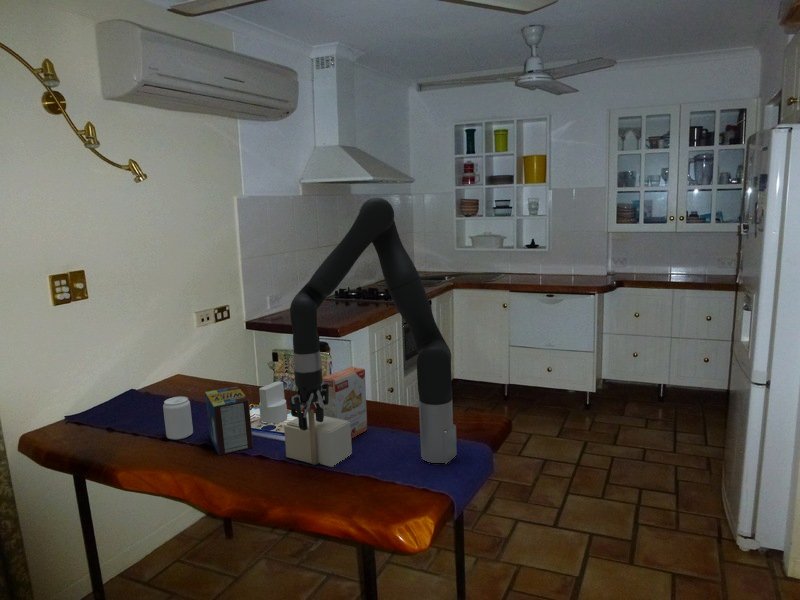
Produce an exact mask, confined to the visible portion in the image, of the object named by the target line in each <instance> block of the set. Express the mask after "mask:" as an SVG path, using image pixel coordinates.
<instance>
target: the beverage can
mask: <svg viewBox="0 0 800 600" xmlns="http://www.w3.org/2000/svg"><path fill="white" fill-rule="evenodd" d="M162 409H163V419H164V426H165V436H166V438H167V439H170V440H183V439H186V438H189V436H191V435H192V434H193V433H194V427H193V419H192V409H191V401H190V400H189V397H187V396H174V397H170V398H167V399H166V400H164V402H163V405H162Z"/></svg>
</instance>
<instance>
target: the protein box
mask: <svg viewBox="0 0 800 600" xmlns="http://www.w3.org/2000/svg"><path fill="white" fill-rule="evenodd" d="M204 395H205V404H206V406H205V407H206V416H207V424H208V431H209V439H210V441H211V443H212V445H213V446H214V449H215V451H216V453H217V455H218V456H222V455H226V454H230V453H235V452H239V450H240V451H243V450H244V449H245V450H248V449H252V448H254V443H253V441H254V440H253V430H252V420H251V419H252V418H251V410H250V401H249V400H250V399H249V397H247V396H246V394H245V393H244V392H243V391H242V390H241V388H240V387H239V386H232V387H227V388H226V387H225V388H220V389H214V390H209V391H204Z"/></svg>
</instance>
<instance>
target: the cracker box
mask: <svg viewBox="0 0 800 600" xmlns="http://www.w3.org/2000/svg"><path fill="white" fill-rule="evenodd" d="M322 378H323V382H322V383H326V384H329V402H328V404H327V405H325V407H324V409H323V411H324V416H327V417H332V418H336V419H341V420H346V421H348V422H350V428H351V440H353V439H355V438H357V437H358V436H357V435H359V434H361V433H363V432H365V431H366V430H367V431H368V419H367V418H368V417H367V416H368V414H367V413H368V412H367V392H366V391H367V390H366V387H367V386H366V369H364V368H363V367H355V366H350V367H347V368H344V369H342V370H338V371H337V372H334V373H330V374H327V375H326V376H322ZM323 400H325V397H324V396H323ZM365 433H366V432H365ZM363 434H364V433H363ZM361 435H362V434H361ZM356 436H357V437H356ZM359 436H360V435H359ZM354 437H355V438H354ZM352 438H353V439H352Z"/></svg>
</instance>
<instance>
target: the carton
mask: <svg viewBox="0 0 800 600" xmlns="http://www.w3.org/2000/svg"><path fill="white" fill-rule="evenodd" d="M306 417H307V428H308V429H307V430H309V418H308V412H307V415H306ZM314 419H315V434H316V448H317V462H318V464H319V463H320V465H324V466H326V467H327V466H328V467H330V468H333V467H335V466H337V465H338V464H339V462H340V461H341V462H343V461H344V460H346V459H347V457H348V456H349V457H351V456H352V455H353V448H352V439H351V428H350V422H348V421H346V420H341V419H336V418H332V417H327V416H324V419H323V422H317V421H316V413H314ZM286 425H288V426H292V427H296V428H299V421H298V417H295V418H293V419H292V420H290V421H288V422H286ZM351 454H352V455H351ZM350 455H351V456H350ZM349 457H348V458H349ZM345 458H346V459H345ZM342 460H343V461H342ZM341 462H340V463H341ZM337 463H338V464H337ZM336 464H337V465H336ZM334 465H335V466H334Z"/></svg>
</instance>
